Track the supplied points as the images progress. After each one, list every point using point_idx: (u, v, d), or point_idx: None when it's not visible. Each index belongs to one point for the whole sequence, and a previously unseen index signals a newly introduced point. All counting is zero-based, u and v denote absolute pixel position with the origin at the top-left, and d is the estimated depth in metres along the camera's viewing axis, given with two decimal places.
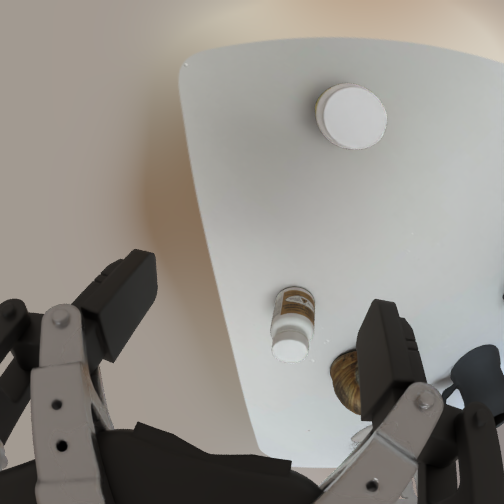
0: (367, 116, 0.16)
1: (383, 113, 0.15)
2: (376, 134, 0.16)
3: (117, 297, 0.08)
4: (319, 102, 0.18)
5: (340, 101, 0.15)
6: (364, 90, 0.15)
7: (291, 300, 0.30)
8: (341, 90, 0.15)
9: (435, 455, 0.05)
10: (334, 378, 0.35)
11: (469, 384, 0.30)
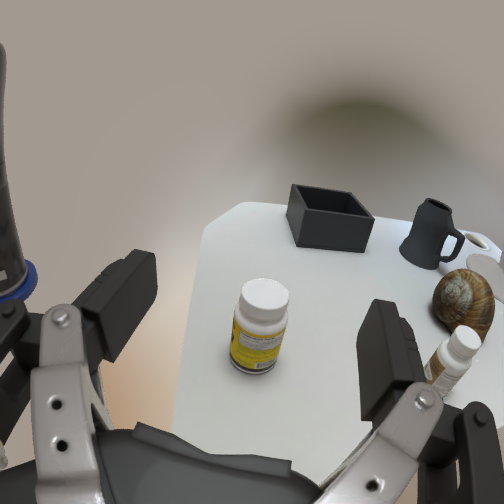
0: (263, 287, 0.25)
1: (260, 279, 0.26)
2: (276, 284, 0.25)
3: (117, 297, 0.08)
4: (251, 329, 0.24)
5: (253, 298, 0.23)
6: (243, 286, 0.25)
7: (430, 374, 0.25)
8: (244, 297, 0.24)
9: (435, 455, 0.05)
10: (480, 331, 0.30)
11: (430, 244, 0.47)
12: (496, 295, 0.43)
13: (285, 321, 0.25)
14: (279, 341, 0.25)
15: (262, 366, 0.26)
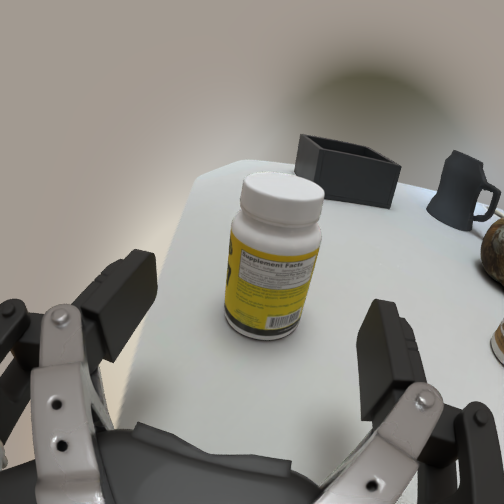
0: (280, 179, 0.15)
1: (273, 172, 0.16)
2: (300, 178, 0.15)
3: (117, 297, 0.08)
4: (261, 243, 0.13)
5: (264, 187, 0.13)
6: (247, 176, 0.15)
7: None
8: (249, 184, 0.13)
9: (435, 455, 0.05)
10: None
11: (463, 200, 0.37)
12: None
13: (319, 236, 0.14)
14: (308, 275, 0.15)
15: (279, 324, 0.16)
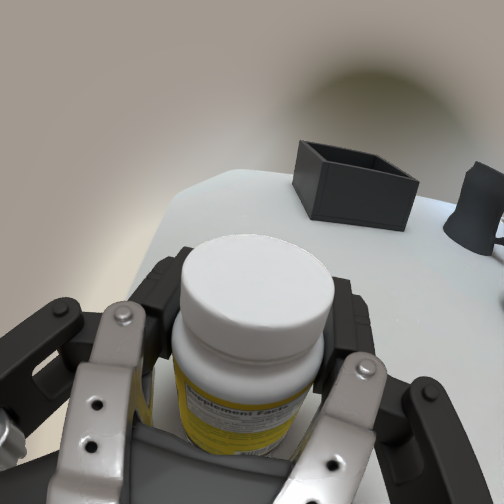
0: (254, 255, 0.08)
1: (245, 236, 0.09)
2: (291, 249, 0.09)
3: (176, 293, 0.09)
4: (214, 386, 0.07)
5: (217, 288, 0.07)
6: (194, 251, 0.08)
7: None
8: (188, 283, 0.07)
9: (384, 431, 0.06)
10: None
11: (486, 221, 0.30)
12: None
13: (319, 358, 0.08)
14: (298, 407, 0.09)
15: (253, 454, 0.09)
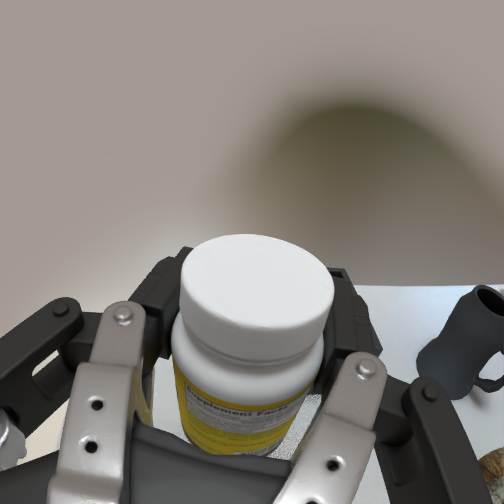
0: (253, 255, 0.08)
1: (244, 236, 0.09)
2: (291, 249, 0.09)
3: (176, 294, 0.09)
4: (213, 386, 0.07)
5: (216, 289, 0.07)
6: (193, 251, 0.08)
7: None
8: (188, 283, 0.07)
9: (384, 431, 0.06)
10: None
11: (469, 369, 0.23)
12: None
13: (319, 358, 0.08)
14: (298, 407, 0.09)
15: None
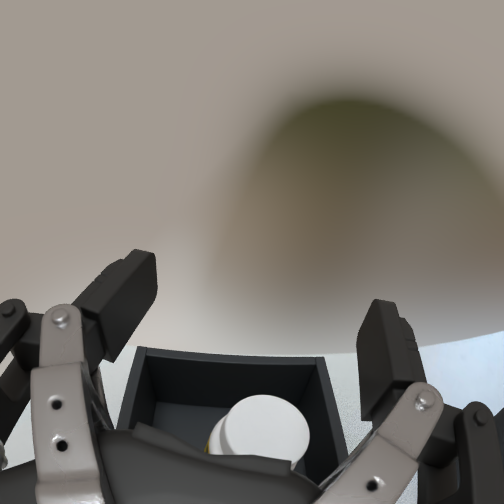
0: (265, 416, 0.12)
1: (259, 397, 0.13)
2: (287, 408, 0.13)
3: (117, 297, 0.08)
4: None
5: (246, 446, 0.11)
6: (230, 415, 0.12)
7: None
8: (231, 443, 0.11)
9: (435, 455, 0.05)
10: None
11: None
12: None
13: (295, 463, 0.12)
14: None
15: None
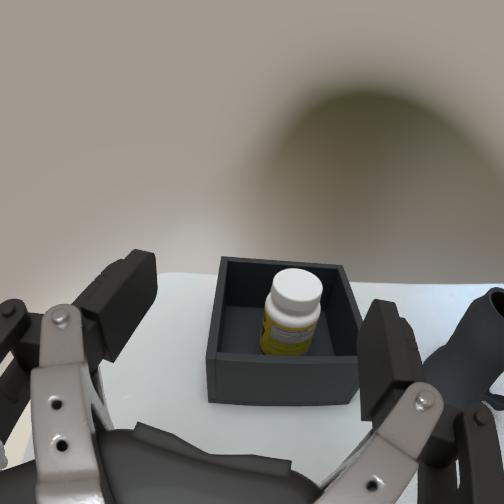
0: (295, 277, 0.24)
1: (291, 269, 0.25)
2: (308, 274, 0.24)
3: (117, 297, 0.08)
4: (283, 321, 0.23)
5: (286, 289, 0.22)
6: (275, 277, 0.24)
7: None
8: (277, 288, 0.23)
9: (435, 455, 0.05)
10: None
11: (478, 384, 0.19)
12: None
13: (318, 313, 0.24)
14: (311, 333, 0.24)
15: None
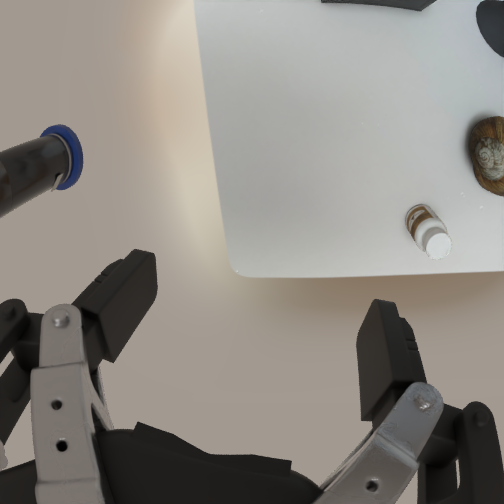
0: None
1: None
2: None
3: (117, 297, 0.08)
4: None
5: None
6: None
7: (410, 228, 0.34)
8: None
9: (435, 455, 0.05)
10: (496, 194, 0.28)
11: None
12: None
13: None
14: None
15: None
